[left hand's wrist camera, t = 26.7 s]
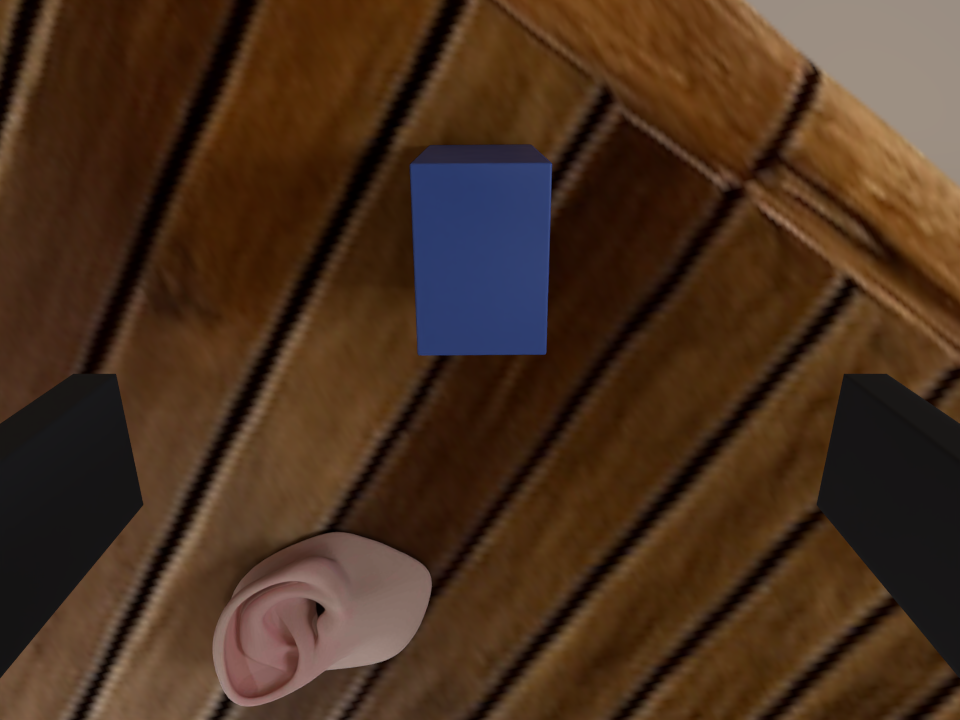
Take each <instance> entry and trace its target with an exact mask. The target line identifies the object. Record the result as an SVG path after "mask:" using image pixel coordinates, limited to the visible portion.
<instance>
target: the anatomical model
mask: <svg viewBox="0 0 960 720" xmlns="http://www.w3.org/2000/svg"><path fill="white" fill-rule="evenodd" d="M431 586H432V583H431V576H430V573H429V571H428V570H427V568H426V567H425V566H424V565H423V564H421V563H420V562H419V561H417V560H415V559H414V558H412V557H410V556H408V555H407V554H404V553H402V552H400V551H398V550H396V549H393V548H391V547H389V546H387V545H385V544H383V543H380V542H377V541H374V540H371V539H368V538H365V537H361V536H358V535H355V534H351V533H345V532H331V533H326V534H322V535H318V536H315V537H312V538H309V539H307V540H304V541H302V542H299V543H297V544H294V545H292V546H289V547H287V548H285V549H283V550H281V551H279V552H277V553H275V554H273V555H272V556H270V557H268V558H266V559H265V560H263V561H262V562H260V563H259V564H258V565H256V566H255V567H254V568H253V569H251V570H250V571H249V572H248V573H247V574H246V575H245V576H244V578H243V579H242V580H241V581H240V583H239V584H238V585H237V587H236V589H235V591H234V593H233V595H232V598H231V600H230V601H229V602H228V604H227V605H226V606H225V608H224V610H223V611H222V613H221V615H220V618H219V620H218V623H217V626H216V629H215V633H214V638H213V659H214V665H215V669H216V673H217V676H218V679H219V682H220V684H221V686H222V688H223V690H224V692H225V693H226V695H227V696H228V697H229V699H230V700H232V701H233V702H234V703H236V704H238V705H242V706H256V705H261V704H264V703H268V702H271V701H274V700H276V699H279V698H281V697H283V696H285V695H287V694H289V693H291V692H293V691H295V690H297V689H299V688H300V687H302V686H304V685H305V684H307V683H309V682H310V681H312V680H313V679H314V678H316V677H317V676H318V675H320V674H321V673H322V672H324V671H325V670H332V669H342V668H350V667H358V666H364V665H369V664H374V663H378V662H381V661H385V660H387V659H389V658H391V657H393V656H395V655H396V654H398V653H399V652H400V651H402V650H403V649H404V648H405V647H406V645H407V644H408V643H409V642H410V640H411V639H412V638H413V636H414V635H415V633H416V631H417V630H418V628H419V626H420V624H421V621H422V619H423V617H424V614H425V612H426V608H427V605H428V602H429V598H430V594H431Z"/></svg>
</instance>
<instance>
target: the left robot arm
mask: <svg viewBox="0 0 960 720" xmlns="http://www.w3.org/2000/svg"><path fill="white" fill-rule="evenodd" d="M142 506H143V501H142V496H141V491H140V486H139V482H138V477H137V472H136V467H135V463H134V458H133V453H132V448H131V443H130V439H129V434H128V429H127V424H126V420H125V415H124V410H123V405H122V400H121V396H120V391H119V386H118V381H117V377H116V374H73V375H71V376H70V377H68V378H67V379H65V380H64V381H62V382H61V383H59V384H58V385H56V386H55V387H54V388H52V389H51V390H49V391H48V392H46V393H45V394H43V395H42V396H40V397H39V398H37V399H36V400H34V401H33V402H32V403H30V404H29V405H27V406H26V407H24V408H23V409H21V410H20V411H18V412H17V413H15V414H14V415H12V416H11V417H9V418H8V419H7V420H5V421H4V422H2V423H1V424H0V678H1V677H2V675H3V674H4V673H5V672H6V671H7V669H8V668H9V667H10V666H11V664H12V663H13V662H14V661H15V660H16V658H17V657H18V656H19V655H20V654H21V652H22V651H23V650H24V649H25V648H26V646H27V645H28V644H29V643H30V641H31V640H32V639H33V638H34V637H35V635H36V634H37V633H38V632H39V631H40V629H41V628H42V627H43V626H44V625H45V623H46V622H47V621H48V620H49V618H50V617H51V616H52V615H53V614H54V612H55V611H56V610H57V609H58V608H59V606H60V605H61V604H62V603H63V601H64V600H65V599H66V598H67V597H68V595H69V594H70V593H71V592H72V591H73V589H74V588H75V587H76V586H77V585H78V583H79V582H80V581H81V580H82V578H83V577H84V576H85V575H86V574H87V572H88V571H89V570H90V569H91V568H92V566H93V565H94V564H95V563H96V562H97V560H98V559H99V558H100V557H101V555H102V554H103V553H104V552H105V551H106V549H107V548H108V547H109V546H110V545H111V543H112V542H113V541H114V540H115V538H116V537H117V536H118V535H119V534H120V532H121V531H122V530H123V529H124V528H125V526H126V525H127V524H128V523H129V522H130V520H131V519H132V518H133V517H134V515H135V514H136V513H137V512H138V511H139V509H140V508H141V507H142ZM817 506H818V507H819V508H820V509H821V511H822V512H823V513H824V514H825V515H826V517H827V518H828V519H829V520H830V522H831V523H832V524H833V525H834V526H835V528H836V529H837V530H838V531H839V532H840V534H841V535H842V536H843V537H844V538H845V540H846V541H847V542H848V543H849V545H850V546H851V547H852V548H853V549H854V551H855V552H856V553H857V554H858V555H859V557H860V558H861V559H862V560H863V562H864V563H865V564H866V565H867V566H868V568H869V569H870V570H871V571H872V572H873V574H874V575H875V576H876V577H877V578H878V580H879V581H880V582H881V583H882V585H883V586H884V587H885V588H886V589H887V591H888V592H889V593H890V594H891V595H892V597H893V598H894V599H895V600H896V601H897V603H898V604H899V605H900V606H901V608H902V609H903V610H904V611H905V612H906V614H907V615H908V616H909V617H910V618H911V620H912V621H913V622H914V623H915V625H916V626H917V627H918V628H919V629H920V631H921V632H922V633H923V634H924V635H925V637H926V638H927V639H928V640H929V641H930V643H931V644H932V645H933V646H934V648H935V649H936V650H937V651H938V652H939V654H940V655H941V656H942V657H943V658H944V660H945V661H946V662H947V663H948V664H949V666H950V667H951V668H952V669H953V671H954V672H955V673H956V674H957V675H958V677H959V678H960V424H959V423H958V422H956V421H955V420H953V419H952V418H950V417H949V416H948V415H946V414H945V413H943V412H942V411H940V410H939V409H937V408H936V407H934V406H933V405H931V404H930V403H928V402H927V401H926V400H924V399H923V398H921V397H920V396H918V395H917V394H915V393H914V392H912V391H911V390H909V389H908V388H906V387H905V386H904V385H902V384H901V383H899V382H898V381H896V380H895V379H893V378H892V377H890V376H889V375H887V374H844V377H843V381H842V386H841V391H840V396H839V400H838V405H837V410H836V415H835V420H834V424H833V429H832V434H831V439H830V443H829V448H828V453H827V458H826V463H825V467H824V472H823V477H822V482H821V486H820V491H819V496H818V501H817Z"/></svg>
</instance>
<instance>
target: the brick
mask: <svg viewBox="0 0 960 720" xmlns="http://www.w3.org/2000/svg"><path fill="white" fill-rule="evenodd" d="M551 181H552V163H551V162H550V161H549V160H548V159H546V158H545V157H544V156H543V155H542V154H541V153H540V152H539V151H538V150H537V149H535V148H534V147H533V146H532V145H430V146H428V147H427V148H426V149H425V150H424V151H423V152H422V153H421V154H420V155H419V156H418V157H417V158H416V159H415V160H414V161H413V162H412V163H411V164H410V183H411V207H412V231H413V254H414V278H415V302H416V326H417V350H418V355H544V354H546V342H547V310H548V278H549V245H550V213H551Z"/></svg>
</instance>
